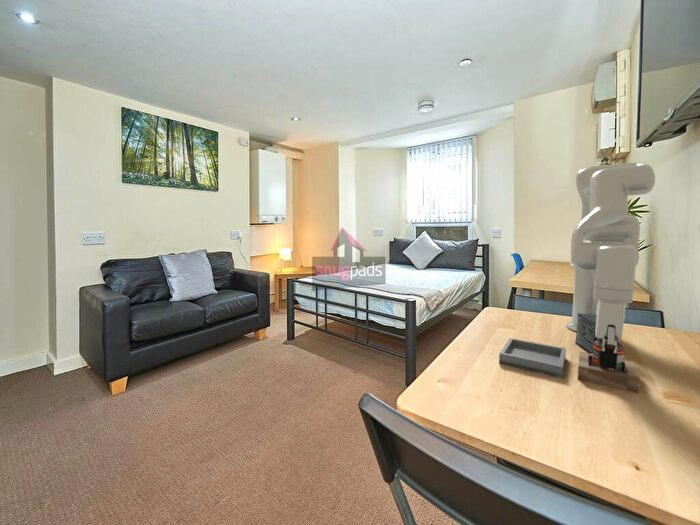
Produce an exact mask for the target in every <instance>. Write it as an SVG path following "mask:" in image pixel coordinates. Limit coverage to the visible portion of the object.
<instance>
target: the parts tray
mask: <svg viewBox="0 0 700 525" xmlns="http://www.w3.org/2000/svg"><path fill="white" fill-rule="evenodd" d="M566 352H567V348H565V347H560V346H554V345H550V344H543V343H539V342H533V341H528V340H523V339H518V338H513V337H510V338H509V339H508V340H507V341H506V343H505V344H504V346H503V348H502V349H501V351H499V355H498V356H499V357H498V358H499V359H498V361H499V362H498V364H501V365H504V366H510V367H514V368H517V369H522V370H526V371H531V372H534V373H539V374H543V375H547V376H552V377H555V378H560V379H563V374H564V369H565V363H566V362H565V361H566V354H567V353H566Z"/></svg>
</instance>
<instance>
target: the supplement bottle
mask: <svg viewBox="0 0 700 525" xmlns="http://www.w3.org/2000/svg"><path fill="white" fill-rule="evenodd" d="M602 339H603V338H602ZM602 339H600V338H599V340H597V341H595V342H594V347H593V360H592V366H594V367H599V368H603V369H608V370H613V371H618V372H622V362H623V360H624V346H623V345H622V344H621V342H617V364H616V369H612V368H607V367H602V366H600V365H599V362H600V350H602ZM605 339H608V337H605ZM614 341H615V338H614ZM605 344H607V342H605Z"/></svg>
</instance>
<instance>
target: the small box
mask: <svg viewBox="0 0 700 525" xmlns="http://www.w3.org/2000/svg"><path fill="white" fill-rule="evenodd" d="M595 326H596V314H581V313H578V322H577V331H576V334H575V341H574V342H575V345H577V346H578V347H580V348H582V349H583V351H586V353H591V354H593V347H594V342H595V341H597V340H599V339H597V338H596V337H595Z"/></svg>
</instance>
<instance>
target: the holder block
mask: <svg viewBox="0 0 700 525" xmlns="http://www.w3.org/2000/svg"><path fill="white" fill-rule="evenodd" d="M592 360H593V354H591V353H588V352H587V351H586V352H584V351H579V354H578V368H577V369H578V370H577V380H579V381H585V382H588V383H593V384H598V385H602V386H605V387H609V388H614V389H617V390H623V391H627V392H631V393H635V394H639V393H640V383H641V378H640V375H639V372H638V368H637V366H636V363H635V361H633V360H626V359H623V362H622V372H618V371H613V370H608V369H603V368H599V367H594V366H592Z"/></svg>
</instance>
